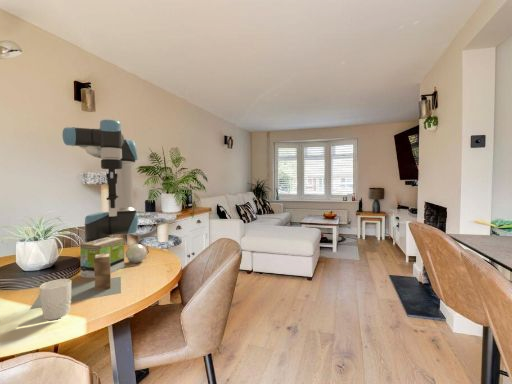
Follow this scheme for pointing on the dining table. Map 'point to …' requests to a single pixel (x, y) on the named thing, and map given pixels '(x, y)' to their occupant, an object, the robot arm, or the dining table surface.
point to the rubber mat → (88, 291)
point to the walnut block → (102, 272)
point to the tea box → (102, 247)
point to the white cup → (55, 298)
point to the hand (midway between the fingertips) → (113, 214)
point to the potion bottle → (136, 253)
